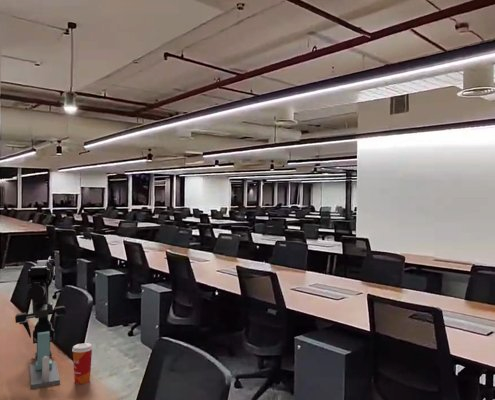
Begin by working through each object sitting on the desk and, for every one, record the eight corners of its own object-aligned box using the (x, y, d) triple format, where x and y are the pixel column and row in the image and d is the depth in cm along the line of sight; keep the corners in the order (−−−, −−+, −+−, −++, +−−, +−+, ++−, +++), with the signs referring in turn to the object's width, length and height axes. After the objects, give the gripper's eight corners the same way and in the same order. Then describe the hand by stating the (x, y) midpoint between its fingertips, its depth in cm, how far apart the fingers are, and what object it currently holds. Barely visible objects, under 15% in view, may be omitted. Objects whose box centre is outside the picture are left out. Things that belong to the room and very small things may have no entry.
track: (29, 368, 187) (29, 343, 187) (55, 364, 192) (55, 340, 192) (31, 388, 167) (31, 360, 167) (60, 383, 171) (60, 356, 171)
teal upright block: (35, 366, 185) (35, 332, 185) (51, 364, 187) (51, 331, 187) (36, 373, 177) (36, 338, 177) (52, 371, 179) (52, 336, 179)
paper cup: (72, 379, 176) (72, 343, 176) (92, 376, 179) (92, 341, 179) (71, 386, 169) (71, 350, 169) (92, 383, 171) (93, 347, 171)
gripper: (13, 303, 171) (17, 344, 170) (65, 294, 179) (69, 333, 178) (14, 300, 180) (17, 338, 180) (63, 292, 189) (66, 328, 188)
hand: (43, 335), depth 181 cm, fingers open, 9 cm apart
